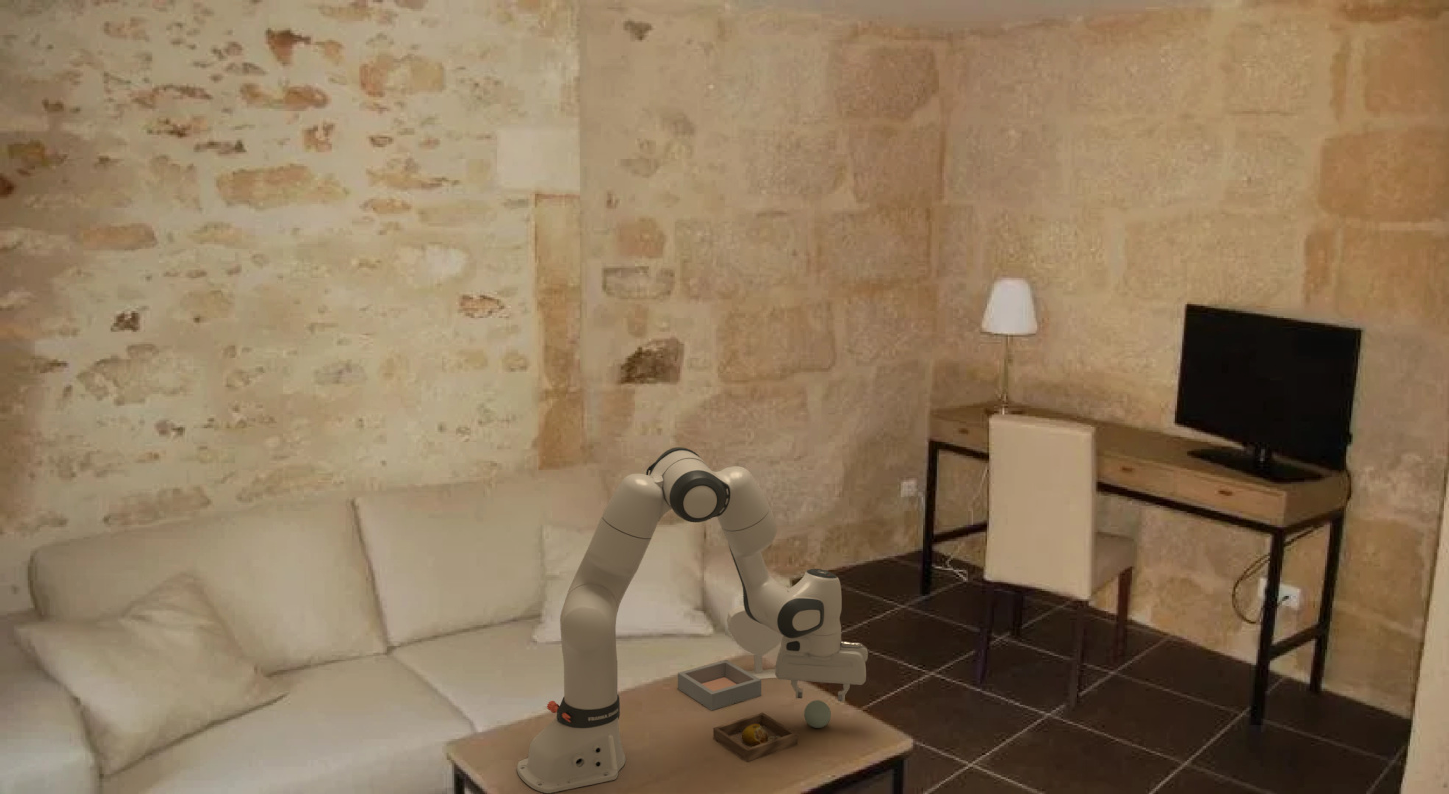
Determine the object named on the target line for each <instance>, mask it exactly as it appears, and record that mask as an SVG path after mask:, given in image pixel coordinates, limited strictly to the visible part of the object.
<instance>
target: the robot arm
mask: <svg viewBox="0 0 1449 794" xmlns="http://www.w3.org/2000/svg"><path fill="white" fill-rule="evenodd" d="M671 510H672V511H673V513H675V514H676V515H677V516H678V517H679V518H681V519H682V520H684V521H686V522H690V523H703V522H706V521H708V520H709V521H710V520H711V519H712V518H717V520H718V522H719V525H720V527H721V529H722V531H723V534H724V536H725V538H726V540H727V543H728V544H727V545H728V547H729V548H728V549H729V551H730V555H731V557H732V560H733V563H734V566H735V569H736V571H737V574H738V577H739V581H740V582H741V586H742V597H743V598H742V600H743V605H744V608H745V611H746V613H747V615H748V616H749V617H750V618H751V619H752V620H754V621H756V622H759V623H761V624H764V625H765V626H767V627H769V628H770V629H772V630H774V631H776V632H778V633H779V634H781V635H783V637H782V641H781V643H780V647H779V649H778V653H777V657H776V661H775V667H774V669H775V675H776V677H777V678H776V679H778V680H785V681H786V680H787V681H790V685H791V687H792V689H793V690H794V692H795V699H801V700H802V699H803V697H804V694H803V693H804V688H800V687H799V685H798V681H799V682H800V681H801V682H816V683H827V684H828V683H829V684H843V685H842V686H843V687H842V688H843V689H842V690H840V691H838V692H837V702H845V698H846V694H847V692H848V691H849V690H850V685H856V686H857V685H859V686H861V685H864V683H865V682H866V679H867V668H866V662H867V660H868V658H869V650H868V648H867V646H865V645H864V644H862V643H861V642H850V641H842V624H841V620H840V617H841V613H842V608H843V607H842V602H843V600H842V598H843V597H842V586H841V581H840V578H839V577H838V576H837V575H836V574H835V573H833V572H830V571H828V570H824V569H820V568H810V569H807V570H806V571H805V573H804V575H803V576H802V578H801V579H800V580H799V581H798V582H797V583H796V584H793V586H791V587H788V586H785V585H784V584H782V583H780V582H779V581H777V580H776V579H775V578H774V577H772V576H771V575H770V573H769V571H768V568H767V566H766V562H765V560H764V558H763V554H762V552H763V551H764V550H766V549H767V548H769V547H770V546H771V545H772V543H773V541H774V540H775V537H776V536H777V532H778V527H777V523H776V519H775V515H774V513H773V511H772V508H771V506H770V503H769V502H768V499H767V497H766V495H765V493H764V491H763V489H762V488H761V486H760V485H759V483H758V481H757V480H756V478H755V477H754V476H753V475H752V473H751V472H750V471H749V470H748V469H747V468H745V467H742V466H738V465H737V466H736V465H734V466H733V465H732V466H727V467H725V468H723V469H721V470H718V471H714V470H712V469H711V468H710V465H708V464H707V462H705V461H704V459H702V458H701V456H700V455H699V454H697V453H696V452H695V451H693V450H691V449H689V448H686V447H683V446H682V447H681V446H679V447H672V448H670V449H667V450H666V451H664V452H663V453H662V454H661V455H660V456H659V457H658V458H657V459H656V460H655V461H654V462H653V463H652V464H650V465H649V466H648V468H647V469H646V472H645V473H630V474H628V475H627V476H625V477H624V478H622V480H621V481H620V483H619V484H618V486H617V487H616V489H615V491H614V492H613V494H612V495H611V497H610V499H609V501H608V503H607V505H606V507H605V509H604V511H603V513H602V514H601V517H600V520H599V521H598V524H597V526H596V529H595V530H594V533H593V535H592V538H591V540H590V542H589V545H588V547H587V548H586V552H585V553H584V556H583V558H582V560H581V562H580V564H579V566H578V569H577V570H576V573H575V575H574V578H573V579H572V581H571V584H570V586H569V588H568V591H567V593H566V596H565V600H564V603H563V606H562V609H561V612H560V617H559V623H560V625H559V626H560V642H561V650H562V651H561V652H562V659H563V698H562V699H561V702H560V704H559V703H557V702H556V701H554V700H550V701H549V702H548V703H547V704H546V707H547V710H548V711H549V712H551V713H552V714H556V717H555V718H553V720H551V722H550V723H549V724H547V725H546V727H545V728H543V729H542V730H541V731H540V732H539V733H538V734H537V735H535V737H534V738H533V739H532V740H531V742H530V745H529V748H528V749H529V750H528V754H527V756H528V757H527V758H524V759H522V760H520V761H518V762H517V767H516V770H517V774H518V776H519V778H520V779H521V780H522V781H523V782H524V783H525V784H526V785H527V786H529V787H530V788H532V789H533V790H535V791H538V792H541V793H545V794H552V793H557V792H562V791H568V790H572V789H576V788H581V787H586V786H590V785H596V784H601V783H606V782H611V781H614V780H616V779H617V778H618V777H619V772H620V770H621V769H622V768H623V767H624V765H625V764H626V755H625V753H624V749H623V746H622V745H623V744H622V739H621V733H620V725H619V724H620V723H619V719H620V715H621V705H620V704H621V701H620V696H619V693H618V683H619V682H618V681H619V679H618V656H617V655H618V654H617V637H616V636H617V634H616V628H617V626H616V625H617V616H618V612H619V609H620V605H621V602H622V600H623V598H624V596H625V594H626V592H627V590H628V588H629V586H630V584H631V582H632V580H633V578H634V577H635V575H636V573H637V571H638V570H639V567H640V565H641V564H642V561H643V559H644V556H645V554H646V551H647V549H648V547H649V545H650V542H651V540H652V538H653V537H654V534H655V531H656V529H657V525H658V522H660V521H661V519H662V518H663V517H664V516H665V514H667V513H668V512H670V511H671Z"/></svg>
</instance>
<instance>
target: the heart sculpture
mask: <svg viewBox="0 0 1449 794" xmlns="http://www.w3.org/2000/svg"><path fill="white" fill-rule="evenodd" d="M727 613H728V614H727V619H726V622H727V623H726V624H727V629H728V631H729V633H730V635H731V636H732V639H734V641H735V643H736V644H737V645H738V646H740V647H741V648H742V649H743V650H745V651H747V652H749V654H752V655H754V657H753V662H754V663H753V670H746V671H747V672H748V673H750V674H752V675H754V676H755V677H757V678H759V679H761V680H762V679H772V678H773V679H775V678H776V679H778V678H777V677H776V675H775V668H772V669H770V668H769V669H763V657H764V656H765V655H766V654H768V653H770V652H771V651H772V650H774V649H776V648H777V647H778V646H779V645H781V641H782V637H783V635H781V634H779V633H778V632H776V631H774V630H772V629H770V628H769V627H767V626H765V625H764V624H761V623H759V622H756V621H754V620H752V619H751V618H750V617H749V616H748V615H747V613H746V611H745V608H744V604H741V605H738V606H736V607H733V608H732V609H730V610H729V611H728V612H727Z"/></svg>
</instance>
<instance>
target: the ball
mask: <svg viewBox="0 0 1449 794" xmlns="http://www.w3.org/2000/svg"><path fill="white" fill-rule="evenodd" d="M803 716H804V717H803V718H804V719H805V722H806V723H807V725H809V726H810V727H812V728H815V729H821V728H824V727H826V726H827V725H828V723H829V722H830V720H831V717H832V714H831V708H830V706H829V705H828V704H827V703H826V702H824V701H823V700H820V699H819V700H816V699H815V700H812V701H810V702H809V703H807V704H806V706H805V708H804V712H803Z"/></svg>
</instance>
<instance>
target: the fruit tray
mask: <svg viewBox="0 0 1449 794" xmlns="http://www.w3.org/2000/svg"><path fill="white" fill-rule="evenodd" d="M752 724H760V725H761V726H762V727H763V728H764V729H765V728H766V729H767V730H769V731H771V733H773V734H775V735H776V736H780V737H781V738H775V739H774V740H772V741H769V742H766V743H763V744H760V745H757V746H754V747H753V746H750V747H747V745H746V746H745V745H744V744H742V743H741V742H739V741H738V740H737V739H735V738H734V737H732V736H733V735H735V734H738V732H739V733H741V732H743V730H744V729H745V728H746V727H748V726H749V725H752ZM712 730H713V731H712V735H713V736H712V738H713V740H714V741H716V742H718V743H719V744H721V746H724V747H725V748H726V749H727V750H730V751H731V752H732V753H733V754H736V756H738V757H740V759H742V760H744V761H745V762H747V763H748V762H751V761H753V760H757V759H759V758H763V757H766V756H768V755H772V754H775V753H777V752H780V751H783V750H786V749H789V748H791V747H792V748H793V747H795V746H798V741H799V740H798V736H799V735H798V733H797V732H795V731H794V730H793V729H790V728H788V727H787V726H786V725H784V724H782V723H781V722H779V721H777V720H775V719H774V718H772V716H771V717H770V716H769V715H767V714H766V713H764V712H760V713H756V714H754V715H750V716H747V717H744V718H741V719H738V720H734V721H731V722H727V723H724V724H722V725H718V726H715V727H713V728H712Z"/></svg>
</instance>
